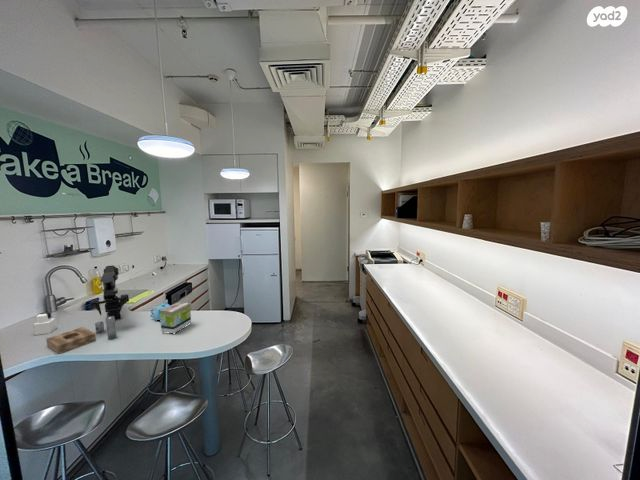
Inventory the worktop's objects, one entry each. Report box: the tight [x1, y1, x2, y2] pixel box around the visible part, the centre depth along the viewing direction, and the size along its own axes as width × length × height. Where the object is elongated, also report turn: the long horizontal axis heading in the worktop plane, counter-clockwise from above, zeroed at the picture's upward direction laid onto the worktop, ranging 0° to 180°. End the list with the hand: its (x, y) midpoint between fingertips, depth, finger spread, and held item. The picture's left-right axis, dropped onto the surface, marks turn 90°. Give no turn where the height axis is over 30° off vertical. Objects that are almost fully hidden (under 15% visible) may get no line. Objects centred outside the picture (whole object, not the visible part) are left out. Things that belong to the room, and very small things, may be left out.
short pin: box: [94, 321, 105, 335], centre depth 160 cm, size 4×4×6 cm
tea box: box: [160, 302, 192, 333], centre depth 165 cm, size 15×10×15 cm
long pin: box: [105, 316, 117, 341], centre depth 153 cm, size 4×4×13 cm
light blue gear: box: [150, 299, 171, 321], centre depth 181 cm, size 15×15×10 cm
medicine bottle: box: [33, 311, 58, 336], centre depth 160 cm, size 7×7×12 cm
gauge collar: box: [46, 326, 97, 355], centre depth 147 cm, size 16×16×4 cm
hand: (110, 313), depth 158 cm, fingers open, 9 cm apart
